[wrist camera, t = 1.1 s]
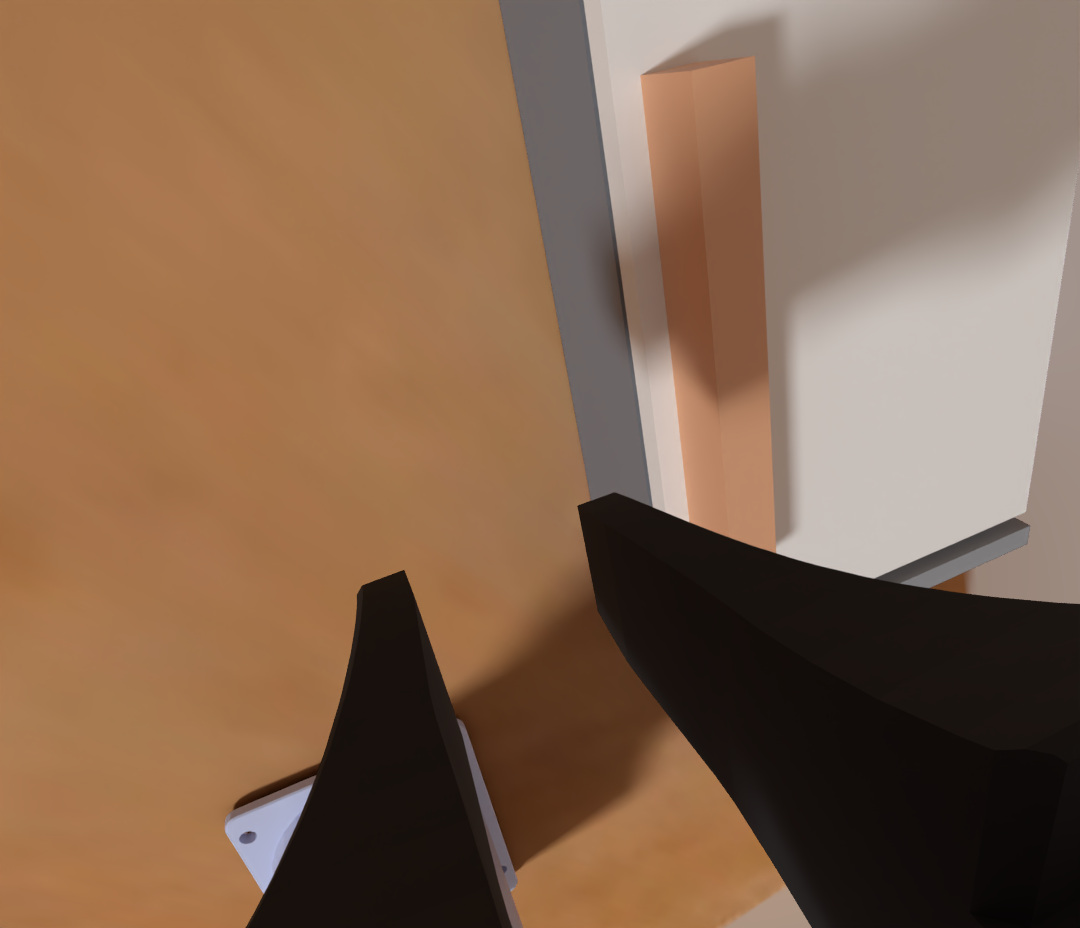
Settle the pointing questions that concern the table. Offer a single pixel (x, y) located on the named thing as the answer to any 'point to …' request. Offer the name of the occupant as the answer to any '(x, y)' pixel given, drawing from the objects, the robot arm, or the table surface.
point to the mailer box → (618, 268)
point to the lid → (840, 259)
